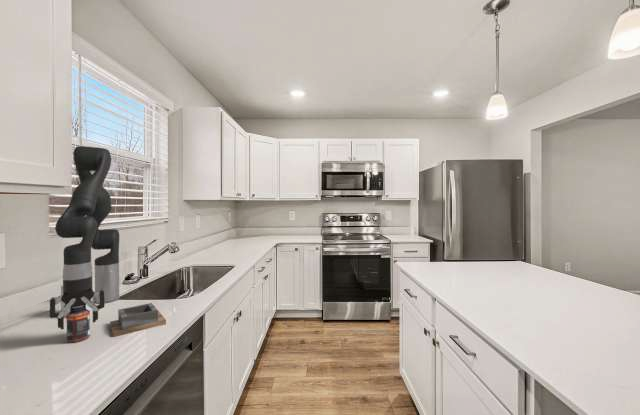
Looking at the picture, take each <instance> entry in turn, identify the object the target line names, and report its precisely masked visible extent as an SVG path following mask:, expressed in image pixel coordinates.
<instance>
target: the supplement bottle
mask: <svg viewBox="0 0 640 415" xmlns="http://www.w3.org/2000/svg"><path fill="white" fill-rule="evenodd" d="M90 313H91V312H89V310H87V309H86V305H82V306H77V307H72V308H70V313H68V314H67V317H66V341H67V342H68V343H78V342H81V341H85V340H87V339H88V338H89V337H90V336H91V319H90V316H91V314H90Z"/></svg>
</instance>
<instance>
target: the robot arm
mask: <svg viewBox="0 0 640 415" xmlns="http://www.w3.org/2000/svg"><path fill="white" fill-rule="evenodd" d="M73 161H74V166H75V170H76V174H77V175H78V176H77V177H78V180H79V183H80V184H78V185H77V186H76V187H75V189H74V190H73V192H72V194H71V198H70V202H69V205H68V206H67V208H65V210H64V212H62V214H61V216H59V218H58V219H57V221H56V223H55V227H54V229H55V233H56V235H57V236H59V237H60V238H61V239H62V238H63V239H73V238H74V239H76V238H77V239H78V238H81V239H82V240H81V241H80V242H79V243H75V244H71V245H67V246H65V247H64V249H63V267H62V276H61V277H62V285H63V295H62V297H61V296H59V297H58V296H57V297H54V296H52V297H51V298H50V299H49V318H50V319H53V318H54V319H57V328H58V329H60V330H64V329H65V324H64V323H65V322H64V319H65V317H64V316H63V315H64V314H65V313H66V312H67V311H68V309H69V308H72V307H77V306H82V305H88V306H89V307H90V308H91V309H92V310H93V311H92V323H96V321H98V320H99V310H101V309H104V308H105V304H106V303H112V302H115V301H118V300H119V299H120V254H119V253H120V232H119V230H118V229H116V228H115V229H113V228H111V229H109V228H108V229H99V227H100V226H101V224H102V222H104V220H105V219H106V218H107V217H108V216H109V214H110V213H111V211H112V207H113V206H112V201H111V195H110V193H109V192H108V190H107V189H106V188H105V187H104V186H103V185H104V182H105V180H106V177H107V176H108V174H109V171H110V168H111V163H112V155H111V153H110V151H109V150H108V149H107V148H104V147H94V146H84V145H80V146H79V145H78V146H76V147H75V148H74V150H73ZM92 171H93V174H92V173H91V172H92ZM92 250H96V251H97V250H98V251H99V250H101V251H102V250H110V251H109V252H107V253H106V254H104V255H102V256H99V257H96V258H95V259H94V290H93V264H92ZM93 297H94V301H93V302H92V301H91V299H92V298H93ZM61 301H62V302H64V303H65V305H64V307H63V308H62V309H61V308H60V310H59V312H56V305H58V304H59V302H61ZM94 302H95V303H94ZM96 304H97V305H96Z"/></svg>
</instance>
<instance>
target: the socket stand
mask: <svg viewBox="0 0 640 415" xmlns="http://www.w3.org/2000/svg"><path fill="white" fill-rule="evenodd" d="M117 312H118V313H117V314H118V319H116V320H112V321H110V322H109V326H110V329H111V333H112V336H113V338H116V337H119V336H123V335H127V334H132V333H135V332H136V333H137V332H139V331H144V330H148V329H150V328H151V329H152V328H155V327H159V326H163V325H166V324H167V319H166V318H165V317H164V315H163V314H162V313H161V312H160V311H159V310H158V309H157V307H156V306H155V305H154V304H153V303H152V302H149V303H145V304H140V305H135V306H130V307H125V308H120V309H118V311H117Z"/></svg>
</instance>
